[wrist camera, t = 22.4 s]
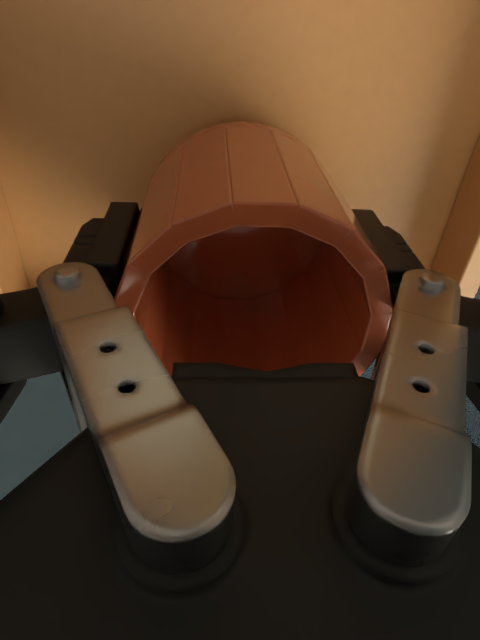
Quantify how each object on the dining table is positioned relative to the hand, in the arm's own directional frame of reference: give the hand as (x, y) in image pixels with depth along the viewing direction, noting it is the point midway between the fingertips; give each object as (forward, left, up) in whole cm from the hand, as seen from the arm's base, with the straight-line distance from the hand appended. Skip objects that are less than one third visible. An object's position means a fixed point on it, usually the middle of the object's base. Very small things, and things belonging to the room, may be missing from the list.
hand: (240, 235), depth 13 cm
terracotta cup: (0, 0, -1) cm, 1 cm away
